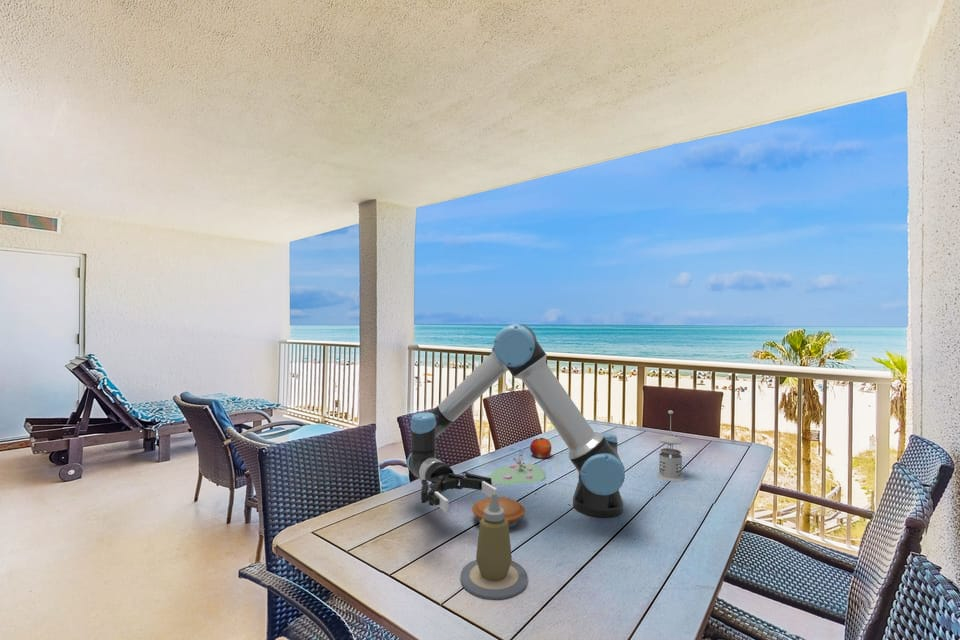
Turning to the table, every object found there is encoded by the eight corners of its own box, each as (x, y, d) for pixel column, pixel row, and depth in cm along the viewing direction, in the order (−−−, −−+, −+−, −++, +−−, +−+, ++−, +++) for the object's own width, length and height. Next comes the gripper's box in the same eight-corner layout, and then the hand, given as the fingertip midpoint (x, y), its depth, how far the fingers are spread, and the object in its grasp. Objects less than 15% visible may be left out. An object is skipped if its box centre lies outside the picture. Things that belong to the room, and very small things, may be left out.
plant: (514, 493, 150) (514, 467, 150) (471, 478, 164) (471, 454, 164) (556, 475, 167) (556, 452, 167) (515, 463, 182) (515, 441, 182)
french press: (656, 479, 163) (656, 411, 163) (656, 469, 173) (656, 406, 173) (685, 483, 159) (685, 413, 159) (684, 473, 170) (684, 408, 170)
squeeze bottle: (509, 587, 94) (509, 502, 94) (472, 582, 96) (472, 499, 96) (514, 566, 102) (514, 488, 102) (479, 562, 104) (480, 486, 104)
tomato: (553, 460, 185) (553, 441, 185) (531, 459, 185) (531, 440, 185) (549, 453, 194) (549, 435, 194) (529, 453, 194) (529, 435, 194)
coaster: (534, 567, 103) (534, 564, 103) (517, 606, 89) (517, 601, 89) (474, 555, 108) (474, 552, 108) (449, 590, 94) (449, 586, 94)
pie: (480, 536, 118) (480, 518, 118) (466, 512, 133) (466, 496, 133) (533, 530, 122) (533, 511, 123) (514, 507, 137) (514, 491, 137)
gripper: (475, 480, 132) (514, 504, 114) (394, 497, 120) (424, 527, 101) (474, 454, 132) (514, 475, 114) (394, 469, 120) (424, 495, 101)
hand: (472, 500), depth 107 cm, fingers open, 13 cm apart
